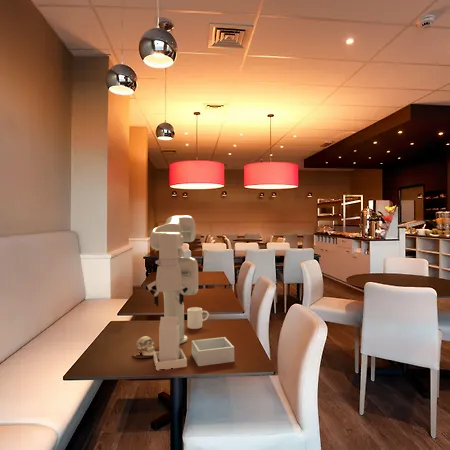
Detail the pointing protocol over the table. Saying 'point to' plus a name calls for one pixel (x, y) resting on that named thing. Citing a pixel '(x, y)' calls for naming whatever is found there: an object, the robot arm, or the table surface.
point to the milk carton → (169, 339)
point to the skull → (145, 347)
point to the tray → (171, 363)
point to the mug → (195, 317)
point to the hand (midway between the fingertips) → (169, 304)
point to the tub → (212, 351)
